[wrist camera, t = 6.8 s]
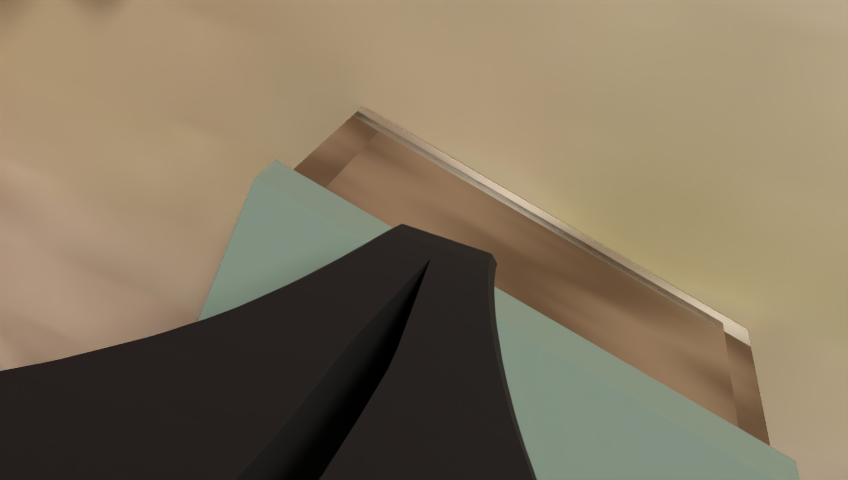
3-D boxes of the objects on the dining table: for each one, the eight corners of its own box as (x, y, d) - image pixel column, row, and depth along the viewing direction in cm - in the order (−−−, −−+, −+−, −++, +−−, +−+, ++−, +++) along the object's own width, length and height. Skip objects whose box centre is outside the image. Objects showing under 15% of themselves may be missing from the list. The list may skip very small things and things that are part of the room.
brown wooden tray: (747, 329, 20) (772, 460, 16) (485, 598, 28) (455, 734, 24) (362, 106, 20) (285, 177, 16) (208, 438, 28) (128, 545, 24)
